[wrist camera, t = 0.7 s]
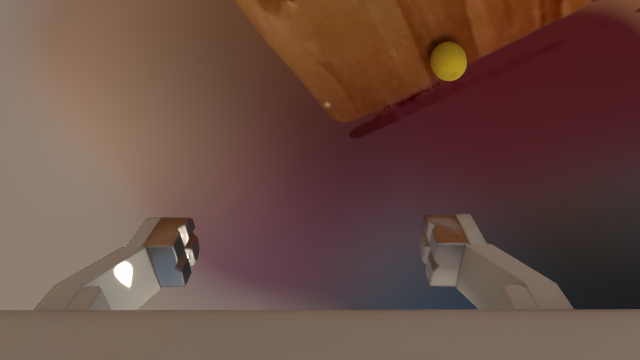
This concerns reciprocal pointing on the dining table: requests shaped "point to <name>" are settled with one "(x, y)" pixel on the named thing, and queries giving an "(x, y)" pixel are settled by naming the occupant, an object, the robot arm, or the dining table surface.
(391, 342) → the robot arm
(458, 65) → the lemon
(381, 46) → the dining table surface
